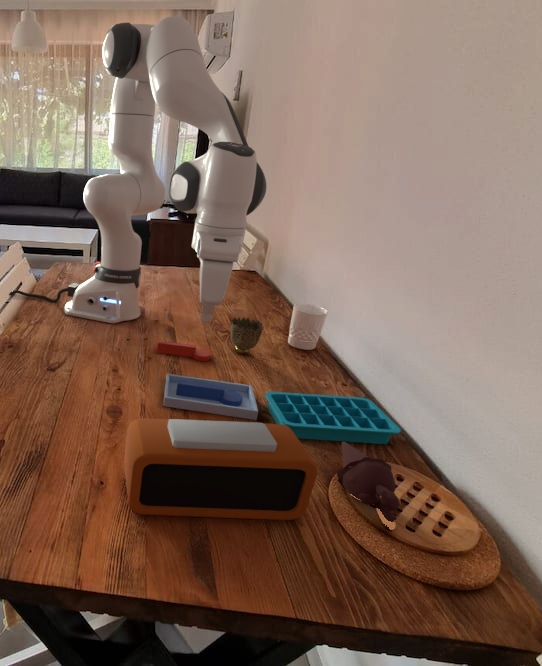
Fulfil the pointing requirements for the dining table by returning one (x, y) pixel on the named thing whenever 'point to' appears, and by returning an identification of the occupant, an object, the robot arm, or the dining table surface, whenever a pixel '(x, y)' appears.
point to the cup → (245, 334)
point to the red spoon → (183, 350)
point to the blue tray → (210, 406)
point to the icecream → (369, 481)
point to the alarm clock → (217, 469)
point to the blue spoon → (209, 392)
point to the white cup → (306, 326)
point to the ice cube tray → (331, 417)
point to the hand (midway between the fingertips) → (204, 311)
